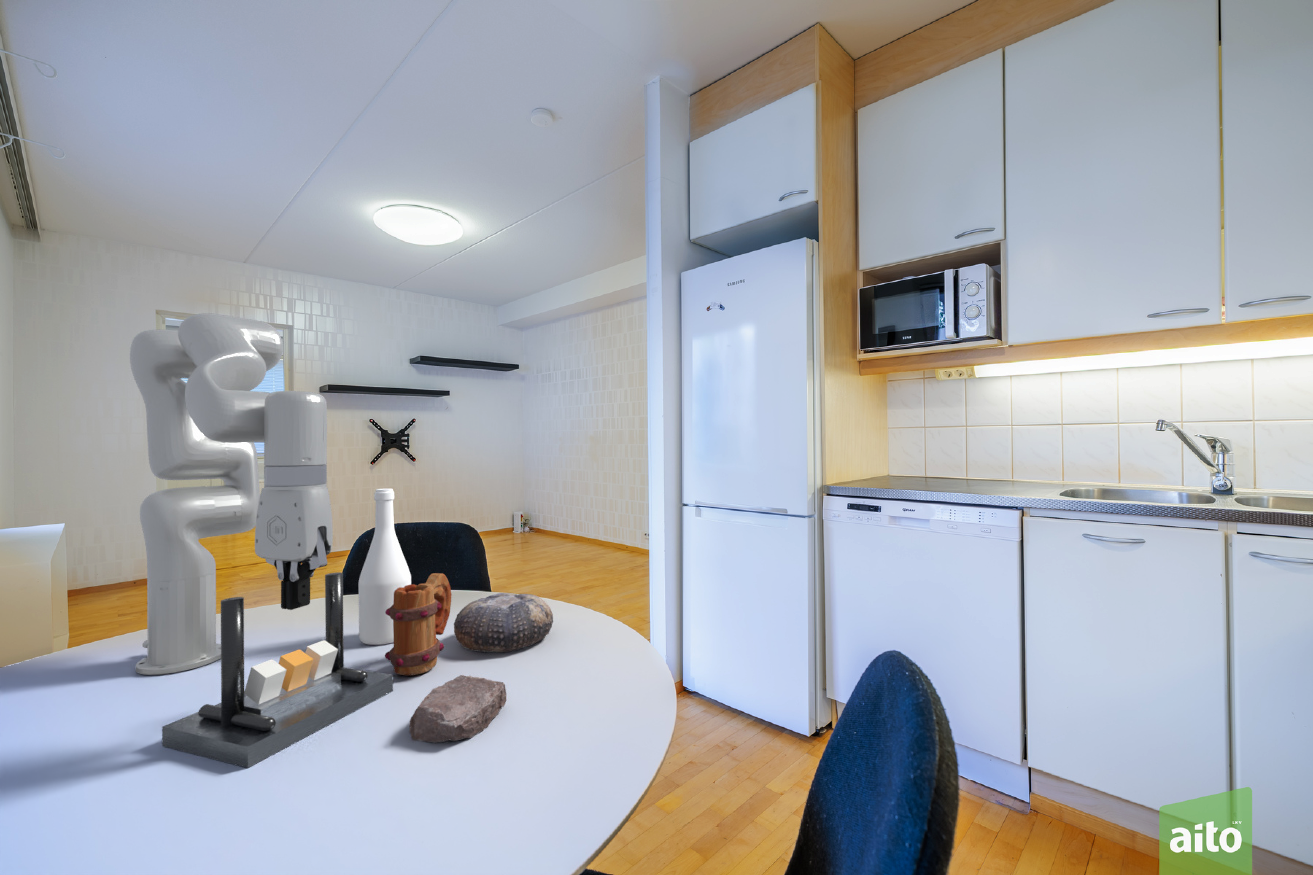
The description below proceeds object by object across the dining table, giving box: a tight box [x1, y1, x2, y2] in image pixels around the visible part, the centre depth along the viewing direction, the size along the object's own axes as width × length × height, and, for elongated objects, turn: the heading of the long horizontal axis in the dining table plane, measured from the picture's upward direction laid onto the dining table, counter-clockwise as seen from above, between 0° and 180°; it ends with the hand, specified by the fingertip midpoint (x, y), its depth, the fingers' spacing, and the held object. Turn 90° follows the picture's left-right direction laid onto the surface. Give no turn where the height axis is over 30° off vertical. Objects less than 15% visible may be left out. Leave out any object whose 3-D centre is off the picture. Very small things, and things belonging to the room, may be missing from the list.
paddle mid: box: [278, 649, 313, 692], centre depth 79 cm, size 3×3×4 cm
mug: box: [384, 572, 453, 677], centre depth 97 cm, size 15×8×15 cm, turn 168°
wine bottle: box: [358, 488, 412, 646], centre depth 112 cm, size 10×10×30 cm
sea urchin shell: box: [453, 592, 554, 653], centre depth 109 cm, size 19×19×10 cm
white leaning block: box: [304, 639, 338, 680], centre depth 83 cm, size 3×3×4 cm
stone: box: [408, 674, 507, 744], centre depth 76 cm, size 12×9×5 cm
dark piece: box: [161, 572, 394, 769], centre depth 79 cm, size 16×22×18 cm
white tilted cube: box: [244, 659, 286, 705], centre depth 75 cm, size 3×3×4 cm
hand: (295, 606), depth 79 cm, fingers closed
